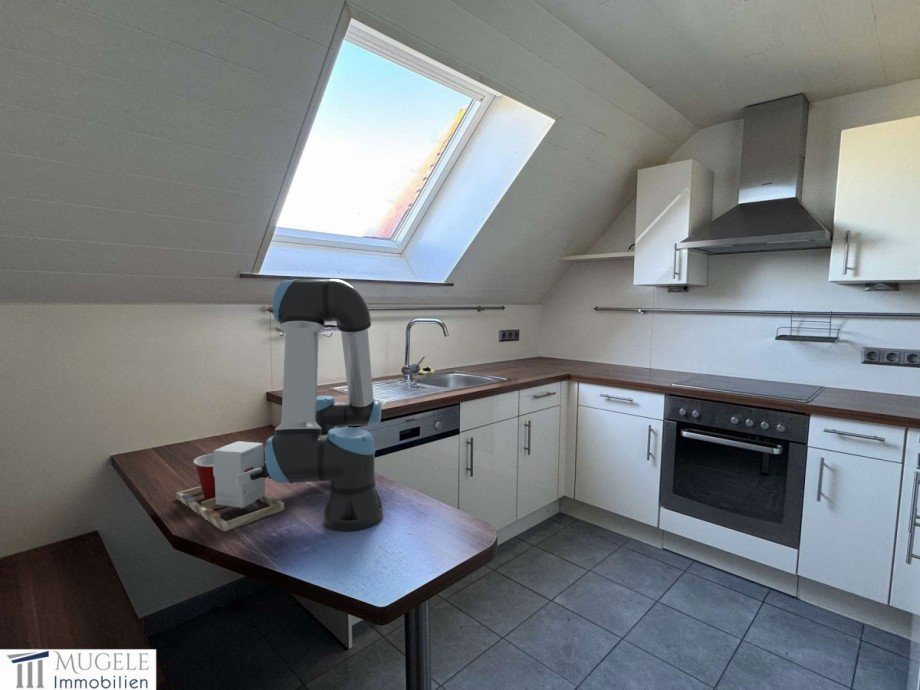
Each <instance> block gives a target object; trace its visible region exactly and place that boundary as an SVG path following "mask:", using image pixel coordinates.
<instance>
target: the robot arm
mask: <svg viewBox="0 0 920 690" xmlns="http://www.w3.org/2000/svg"><path fill="white" fill-rule="evenodd" d="M272 309H273V310H272V315H273V318H274V321H275V322H277V323H279V328H280V329H281V330H282V331H283V332H284V334H285V338H284V340H285V341H284V356H283V357H284V362H283V382H282V399H281V400H282V402H281V403H282V404H281V421H280V424H278V426H276V427H275V429H274V435H271V436H269V437H268V438H267V440H266V442H265V447H264V450H263V455H264V466H262V471H261V468H257V469H254V470H251V471H248V472H244V473H241V474H238V475H236V484H237V486H240V485H243V484H246V483H249V482H252V481H255V480H257V479H260V478H262V477H263V478H265V479H267V478H268V479H270V480H272V481H273V482H275V483H281V484H282V483H289V484H294V483H313V482H329V492H328V493H329V494H328V497H327V501H326V505H325V509H324V510H323V524H324V526H326V528H328V529H331V530H334V531H340V532H350V531H353V532H354V531H359V530H364V529H367V528H369V527H372V526H374V525H376V524H378V523H379V522H380V521H381V520H382V519H383V516H384V507H383V503H382V501H381V498H380V495H379V493H378V491H377V486H376V467H375V466H376V464H375V463H376V462H375V459H376V458H375V454H376V448H375V440H374V439H375V438H374V436H373V435H372V433H371V432H370V431H368V430H365V429H363V428H358V427H356V426H365V427H366V426H374V425H379V424H381V421H382V420H381V419H382V405H381V401H377V400H374V389H373V377H372V376H373V375H372V365H371V354H370V353H371V352H370V339H369V338H370V337H369V329H370V328H371V327H372V323H371V321H372V319H371V314H370V310H369V307H368V305H367V303H366V301H365V300H364V298H363V296H362V295H361V294H360V292H359V291H358V290H357V289H356V288H355V287H353V286H352V285H351V284H349V283H348V282H346V281H345V280H342V279H335V278H331V279H300V278H294V279H289V280H288V279H287V280H286V279H285V280H283V281H281V282H279V284H278V285H277V287H276V288H275V291H274V293H273V297H272ZM325 322H326V323H327V322H336V329H337V330H338V331H339V332H340V333H341V340H342V349H343V350H342V351H343V359H344V361H343V362H344V368H345V376H346V377H345V378H346V384H347V385H346V386H347V387H346V388H347V395H348V401H343V402H337V401H335V397H334V396H332V395H318V368H319V367H318V365H319V338H320V337H319V336H320V334H321V333H322V332H323V331H324V330H325V327H326V325H325ZM354 426H355V427H354ZM213 473H214V466H213ZM214 477H215V473H214ZM377 522H378V523H377Z"/></svg>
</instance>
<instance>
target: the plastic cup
mask: <svg viewBox="0 0 920 690" xmlns="http://www.w3.org/2000/svg"><path fill="white" fill-rule="evenodd" d="M193 464H194V465H195V468H196V471H197V475H198V479H199V482H200V486H201V487H202V490H203V493H202V495H203V497H204V501H205V500H209V499H212V498H215V497H216V494H215V477H214V473H213V466H214V452H213V453H208V454H203V455H199V456H197V457H196V458H194V460H193Z"/></svg>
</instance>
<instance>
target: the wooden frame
mask: <svg viewBox="0 0 920 690" xmlns="http://www.w3.org/2000/svg"><path fill="white" fill-rule="evenodd" d="M200 494H201V495H202V494H203V490H202V487H201V485H200V486H196V487H191V488H188V489H185V490H180V491H177V492H176V500H177V501H178V500H179V501H178V502H180V501H181V502H182V504H183V503H184V504H185V505H184V504H183V505H184V506H186V505H187V506H188V507H187V506H186V507H187V508H189V507H190V508H191V509H192V511H193V510H194V511H195V512H194V511H193V512H194V513H196V512H197V513H198V514H197V513H196V514H197V515H199V516H200V515H201V516H200V517H202V518H203V517H204V518H203V519H205V520H206V521H207V520H208V522H209V523H210V524H211V525H213V526H214V527H216V528H218V529H219V530H220V531H222V532H227V531H230V530H233V529H235V528H238V527H241V526H244V525H247V524H250V523H253V522H255V520H256V521H258V520H261V519H264V518H266V517H265V516H267V517H269V516H272V515H275V514H277V512H278V513H281V512H282V511H285V503H284V502H282V501H281V500H278V499H276V498H275V497H273V496H271V495H270V494H267V493H265V496H263V497H261V498H259V500H258V501H260V500H261V501H260V502H262V501H263V503H264V502H265V503H264V504H266V503H267V505H268V504H269V505H268V506H267V507H264V508H262V509H258V510H255V511H251V512H250V513H246V514H244V515H240V516H237V517H235V518H232V519H229V520H225V519H223V518H221V514H220V513H219V512H217V511H216V510H217V508H219V509H221V508H220V507H222V508H224V505H217V504H216V497H215V498H212V499H209V500H205V499H204V500H203V501H202V500H201V502H200V503H198V502H197V501H196V500H197V499H196V498H195V497H194V496H197V495H200ZM181 502H180V503H181ZM270 505H271V506H270ZM190 508H189V509H190ZM191 509H190V510H191ZM214 509H216V510H214ZM280 511H281V512H280ZM274 513H275V514H274ZM271 514H272V515H271ZM268 515H269V516H268ZM263 517H264V518H263ZM260 518H261V519H260ZM252 521H253V522H252Z"/></svg>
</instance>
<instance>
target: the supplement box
mask: <svg viewBox="0 0 920 690" xmlns="http://www.w3.org/2000/svg"><path fill="white" fill-rule="evenodd" d="M263 452H264V444H263V443H262V442H251V441H242V440H241V441H240V440H239V441H235V442H232V443H229V444H226V445H224V446H221V447H219V448H217V449H214V450H213V453H214V473H215V494H216V504H217V505H224V506H225V507H234V508H241V509H243V508H245V507H247V506H249V505H250V504H253V503H254V502H256V501H257V500H258V499H259V498H261V497H263V496H265V494H266V483H265V482H266V480H265V479H266V478H263V477H262V478H260V479H257V480H255V481H252V482H249V483H246V484H243V485H240V486H237V484H236V475H238V474H241V473H244V472H248V471H251V470H254V469H257V468H261V471H262V466H264V455H263ZM258 501H259V500H258Z"/></svg>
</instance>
